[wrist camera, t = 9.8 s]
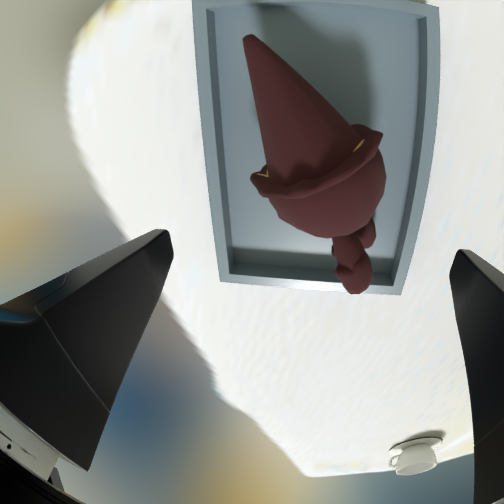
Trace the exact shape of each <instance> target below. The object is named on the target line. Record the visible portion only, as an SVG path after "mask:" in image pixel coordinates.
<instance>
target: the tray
mask: <svg viewBox="0 0 504 504" xmlns="http://www.w3.org/2000/svg"><path fill="white" fill-rule="evenodd" d="M192 12H193V28H194V43H195V57H196V70H197V82H198V94H199V105H200V116H201V126H202V136H203V146H204V156H205V165H206V174H207V183H208V192H209V200H210V208H211V217H212V225H213V233H214V240H215V248H216V255H217V263H218V270H219V277H220V282H230V283H240V284H251V285H262V286H274V287H286V288H298V289H311V290H325V291H339V292H348V291H347V290H346V289H345V288H344V287H343V285H342V283H341V281H340V279H339V278H337V277H336V275H335V270H336V268H337V265H338V263H337V260H336V258H335V257H334V256H333V255H332V254H331V249H332V245H333V242H332V238H328V239H327V238H321V237H315V236H313V235H310V234H308V233H306V232H303V231H301V230H299V229H297V228H295V227H293V226H292V225H290V224H289V223H287V222H285V221H283V220H281V219H280V218H279V217H278V215H277V212H276V210H275V209H274V207H273V206H272V205H271V203H270V202H269V198H264V197H262V196H261V195H260V194H259V193H258V190H257V189H256V187H255V186H254V185H253V184H252V182H251V181H250V176H251V174H252V173H254V172H258V171H261V169H262V167H263V166H264V165H266V159H265V154H264V148H263V143H262V138H261V132H260V127H259V122H258V116H257V111H256V106H255V101H254V96H253V91H252V86H251V81H250V76H249V71H248V67H247V62H246V57H245V53H244V47H243V41H242V38H244V37H245V36H246V35H249V34H253V35H255V36H256V37H257V38H259V39H260V40H261V41H263V42H264V43H265V44H266V45H267V46H269V47H270V48H271V49H272V50H273V51H274V52H275V53H277V54H278V55H279V56H280V57H281V58H282V59H283V60H284V61H286V62H287V63H288V64H289V65H290V66H291V67H292V68H293V69H294V70H296V71H297V72H298V73H299V74H300V75H301V76H302V77H303V78H304V79H305V80H306V81H307V82H308V83H310V84H311V85H312V86H313V87H314V88H315V89H316V90H317V91H318V92H319V93H320V94H321V95H322V96H323V97H324V98H325V99H326V100H327V101H328V102H329V103H330V104H331V105H332V106H333V107H334V108H335V109H336V110H337V111H338V112H339V113H340V115H341V116H342V117H343V118H344V119H345V120H346V121H347V122H348V123H349V124H350V125H353V124H362V125H365V126H367V127H369V128H370V129H372V130H376V131H379V132H382V133H383V137H382V140H381V142H380V145H379V147H378V148H379V150H380V152H381V154H382V156H383V161H384V166H385V171H386V176H387V178H386V184H385V190H384V195H383V197H382V199H381V200H380V202H379V204H378V206H377V208H376V210H375V211H374V213H373V215H372V218H373V221H374V223H375V229H376V239H375V241H374V243H373V245H372V246H371V247H370V248H367V249H365V251H366V253H367V254H368V256H369V258H370V260H371V265H372V270H373V278H372V282H371V284H370V285H369V287H368V288H367V289H366V290H365V291H363V292H362V293H370V294H387V295H401V293H402V289H403V286H404V283H405V279H406V276H407V273H408V269H409V266H410V262H411V258H412V255H413V251H414V247H415V243H416V239H417V235H418V231H419V227H420V222H421V218H422V213H423V208H424V204H425V198H426V193H427V188H428V182H429V177H430V171H431V164H432V157H433V150H434V143H435V134H436V125H437V115H438V102H439V85H440V20H439V7H436V6H432V5H428V4H424V3H419V2H415V1H410V0H192Z"/></svg>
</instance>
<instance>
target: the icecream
mask: <svg viewBox="0 0 504 504" xmlns="http://www.w3.org/2000/svg"><path fill="white" fill-rule="evenodd" d="M242 41H243V47H244V53H245V57H246V62H247V67H248V71H249V76H250V81H251V86H252V91H253V96H254V101H255V106H256V111H257V116H258V122H259V127H260V132H261V138H262V143H263V148H264V154H265V159H266V165H264V166H263V167H262V169H261V171H258V172H254V173H252V174H251V176H250V181H251V182H252V184H253V185H254V186H255V187H256V189H257V190H258V193H259V194H260V195H261V196H262V197H264V198H269V202H270V203H271V205H272V206H273V207H274V209H275V210H276V212H277V215H278V217H279V218H280V219H281V220H283V221H285V222H287V223H289V224H290V225H292V226H293V227H295V228H297V229H299V230H301V231H303V232H306V233H308V234H310V235H313V236H315V237H321V238H327V239H328V238H332V242H333V245H332V249H331V254H332V255H333V256H334V257H335V258H336V260H337V263H338V265H337V268H336V270H335V275H336V277H337V278H339V279H340V281H341V283H342V285H343V287H344V288H345V289H346V290H347V291H348V292H349V293H350V294H360V293H362V292H363V291H365V290H366V289H367V288H368V287H369V285H370V284H371V282H372V278H373V270H372V265H371V260H370V258H369V256H368V254H367V253H366V251H365V249H367V248H370V247H371V246H372V245H373V243H374V241H375V239H376V229H375V223H374V221H373V218H372V215H373V213H374V211H375V210H376V208H377V206H378V204H379V202H380V200H381V199H382V197H383V195H384V190H385V184H386V178H387V176H386V171H385V166H384V161H383V156H382V154H381V152H380V150H379V148H378V147H379V145H380V142H381V140H382V137H383V133H382V132H379V131H376V130H372V129H370V128H369V127H367V126H365V125H362V124H353V125H350V124H349V123H348V122H347V121H346V120H345V119H344V118H343V117H342V116H341V115H340V113H339V112H338V111H337V110H336V109H335V108H334V107H333V106H332V105H331V104H330V103H329V102H328V101H327V100H326V99H325V98H324V97H323V96H322V95H321V94H320V93H319V92H318V91H317V90H316V89H315V88H314V87H313V86H312V85H311V84H310V83H308V82H307V81H306V80H305V79H304V78H303V77H302V76H301V75H300V74H299V73H298V72H297V71H296V70H294V69H293V68H292V67H291V66H290V65H289V64H288V63H287V62H286V61H284V60H283V59H282V58H281V57H280V56H279V55H278V54H277V53H275V52H274V51H273V50H272V49H271V48H270V47H269V46H267V45H266V44H265V43H264V42H263V41H261V40H260V39H259V38H257V37H256V36H255V35H253V34H249V35H246V36H245V37H244V38H242Z"/></svg>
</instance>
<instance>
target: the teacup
mask: <svg viewBox="0 0 504 504" xmlns="http://www.w3.org/2000/svg"><path fill="white" fill-rule="evenodd" d="M441 444H442V440H441V439H438V438H422V439H416V440H412V441H408V442H405V443H402V444H400V445H397V446H395V447H394V448H392V449H391V450H390V451H389V455H390V456H392V458H391V459H390V460H389V467H390V468H395V467H396V473H397V474H399V475H411V474H417V473H421V472H425V471H427V470H430V469H432V468H434V467H435V466H436V465H437V461H436V456H435V453H434V451H433V450H435V449H436V448H438V447H439V446H440V445H441ZM394 458H398V461H397V463H396V464H395V465H392V464H391V462H392V459H394Z"/></svg>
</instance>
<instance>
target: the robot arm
mask: <svg viewBox="0 0 504 504" xmlns="http://www.w3.org/2000/svg"><path fill="white" fill-rule="evenodd" d="M173 255H174V253H173V247H172V243H171V238H170V234H169V232H168V231H167V230H165V229H155V230H153V231H150V232H148V233H146V234H144V235H142V236H140V237H138V238H135V239H133V240H131V241H129V242H127V243H125V244H123V245H121V246H119V247H117V248H115V249H112V250H110V251H108V252H106V253H105V254H102V255H100V256H98V257H97V258H94V259H92V260H90V261H88V262H86V263H84V264H82V265H80V266H78V267H76V268H74V269H72V270H71V271H69V273H68V272H67V273H65V274H63V275H61V276H59V277H57V278H55V279H53V280H51V281H49V282H47V283H45V284H43V285H41V286H39V287H37V288H35V289H33V290H31V291H29V292H27V293H24V294H22V295H20V296H18V297H16V298H14V299H12V300H10V301H8V302H6V303H4V304H1V305H0V504H85V503H83V502H81V501H79V500H77V499H76V498H74V497H72V496H71V495H69V494H67V493H65V492H64V489H63V486H62V483H61V480H60V477H59V473H58V470H57V468H55V467H54V466H55V464H56V462H57V459H58V457H60V458H62V459H64V460H66V461H67V462H69V463H71V464H73V465H75V466H77V467H79V468H81V469H82V470H84V471H88V470H89V468H90V466H91V462H92V460H93V457H94V454H95V451H96V449H97V445H98V443H99V440H100V437H101V435H102V432H103V430H104V427H105V424H106V422H107V419H108V417H109V414H110V411H111V408H112V406H113V403H114V401H115V398H116V396H117V393H118V391H119V389H120V386H121V384H122V381H123V378H124V376H125V374H126V372H127V369H128V367H129V365H130V362H131V360H132V358H133V355H134V353H135V350H136V348H137V346H138V344H139V341H140V339H141V337H142V335H143V332H144V330H145V328H146V326H147V324H148V321H149V319H150V317H151V315H152V313H153V310H154V308H155V306H156V304H157V302H158V299H159V297H160V295H161V292H162V289H163V286H164V283H165V280H166V277H167V275H168V272H169V269H170V266H171V263H172V260H173ZM449 278H450V284H451V290H452V296H453V303H454V310H455V316H456V321H457V326H458V331H459V335H460V340H461V345H462V350H463V355H464V361H465V366H466V372H467V379H468V386H469V393H470V401H471V411H472V421H473V435H474V445H475V446H474V474H475V475H474V502H473V504H500V503H503V502H504V274H503V273H502V272H500V271H499V270H498V269H496V268H495V267H493V266H492V265H491V264H489V263H488V262H487V261H485V260H484V259H482V258H481V257H479V256H478V255H477V254H475V253H474V252H472V251H471V250H466V249H459V250H458V251H457V253H456V255H455V258H454V261H453V264H452V267H451V270H450V274H449Z"/></svg>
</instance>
